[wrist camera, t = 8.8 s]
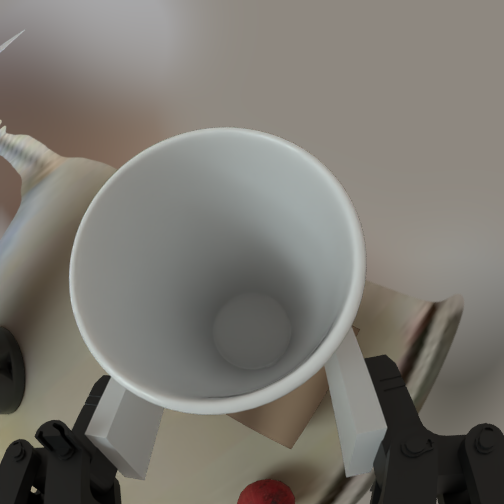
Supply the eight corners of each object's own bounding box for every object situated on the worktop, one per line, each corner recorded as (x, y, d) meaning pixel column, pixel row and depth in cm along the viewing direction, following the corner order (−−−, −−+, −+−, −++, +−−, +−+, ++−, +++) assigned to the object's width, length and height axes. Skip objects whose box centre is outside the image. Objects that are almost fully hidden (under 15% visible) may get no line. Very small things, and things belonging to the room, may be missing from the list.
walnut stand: (197, 377, 33) (172, 379, 25) (251, 289, 36) (240, 267, 28) (290, 430, 29) (290, 449, 22) (344, 337, 32) (359, 329, 25)
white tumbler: (192, 302, 21) (62, 178, 7) (285, 272, 21) (295, 96, 8) (220, 397, 19) (94, 444, 5) (319, 364, 19) (424, 343, 5)
